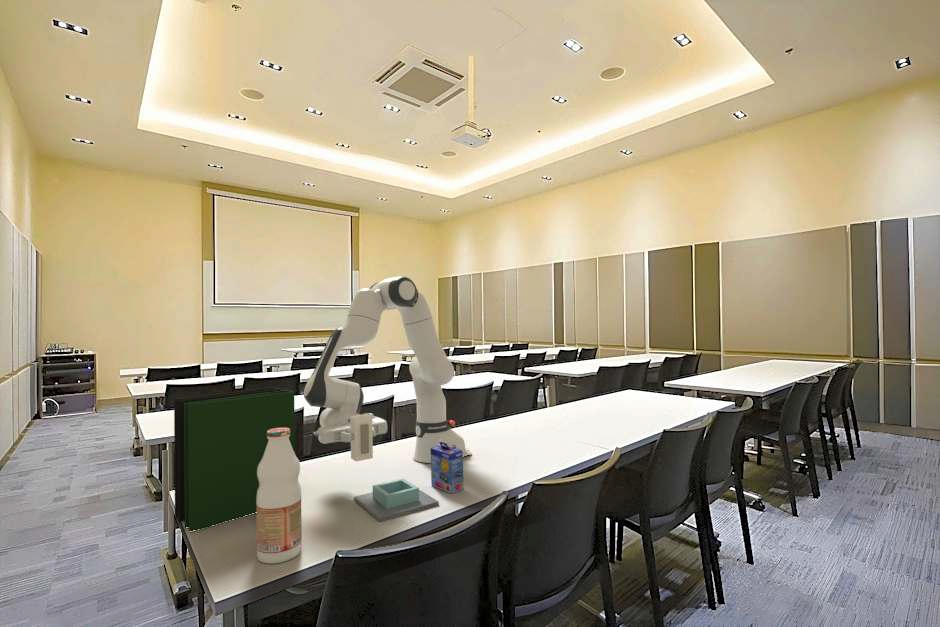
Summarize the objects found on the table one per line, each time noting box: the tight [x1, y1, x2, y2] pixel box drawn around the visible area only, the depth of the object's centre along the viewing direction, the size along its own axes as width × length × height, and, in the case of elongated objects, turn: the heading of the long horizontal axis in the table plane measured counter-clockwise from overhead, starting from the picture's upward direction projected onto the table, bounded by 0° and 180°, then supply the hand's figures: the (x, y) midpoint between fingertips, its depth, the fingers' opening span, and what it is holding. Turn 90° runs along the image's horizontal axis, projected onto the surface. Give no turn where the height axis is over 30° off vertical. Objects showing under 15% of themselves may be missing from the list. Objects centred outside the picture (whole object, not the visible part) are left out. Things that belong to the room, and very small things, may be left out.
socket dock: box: [353, 478, 440, 522], centre depth 133 cm, size 18×18×4 cm
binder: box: [173, 386, 296, 532], centre depth 130 cm, size 27×15×32 cm, turn 137°
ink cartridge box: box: [430, 442, 465, 494], centre depth 144 cm, size 10×6×14 cm, turn 44°
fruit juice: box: [256, 428, 303, 565], centre depth 104 cm, size 9×9×28 cm
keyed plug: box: [350, 414, 374, 462], centre depth 132 cm, size 5×5×12 cm
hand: (362, 435), depth 132 cm, fingers closed on keyed plug, 5 cm apart
